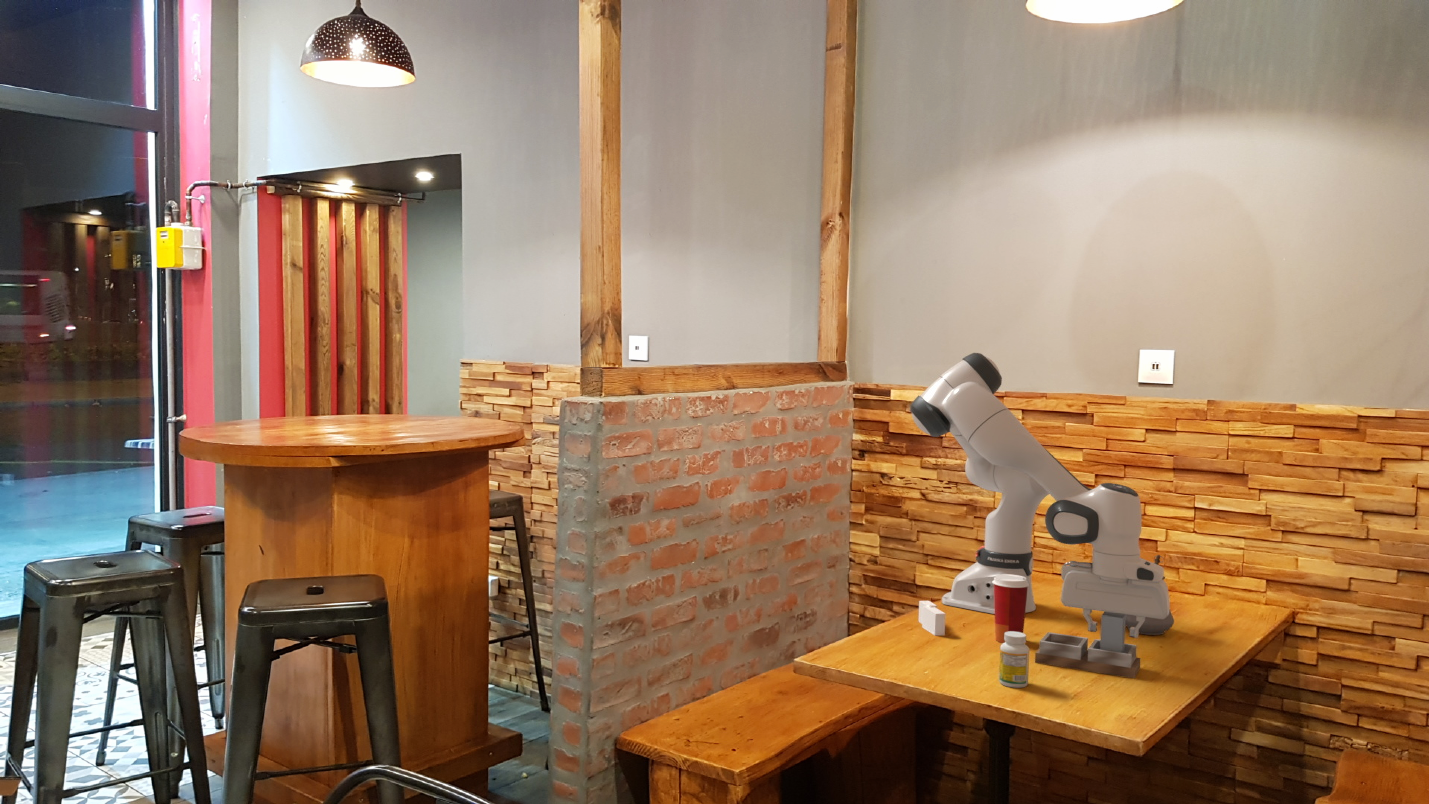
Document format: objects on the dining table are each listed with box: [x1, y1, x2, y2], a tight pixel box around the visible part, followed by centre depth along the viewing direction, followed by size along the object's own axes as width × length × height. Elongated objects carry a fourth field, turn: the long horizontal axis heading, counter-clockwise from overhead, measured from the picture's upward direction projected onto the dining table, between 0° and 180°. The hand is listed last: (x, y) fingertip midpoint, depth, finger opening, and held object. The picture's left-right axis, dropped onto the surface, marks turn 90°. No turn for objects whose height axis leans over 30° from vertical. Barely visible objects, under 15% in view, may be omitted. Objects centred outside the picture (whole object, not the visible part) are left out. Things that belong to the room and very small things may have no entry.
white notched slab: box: [918, 600, 946, 636], centre depth 239 cm, size 15×11×6 cm
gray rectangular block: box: [1099, 611, 1126, 653], centre depth 210 cm, size 4×4×9 cm
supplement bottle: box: [998, 631, 1030, 689], centre depth 200 cm, size 5×5×10 cm
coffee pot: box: [1125, 554, 1175, 636], centre depth 243 cm, size 21×12×15 cm, turn 149°
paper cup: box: [992, 574, 1029, 644], centre depth 229 cm, size 8×8×14 cm
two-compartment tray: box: [1034, 632, 1142, 679], centre depth 212 cm, size 19×8×4 cm, turn 61°
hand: (1113, 634), depth 210 cm, fingers open, 6 cm apart
